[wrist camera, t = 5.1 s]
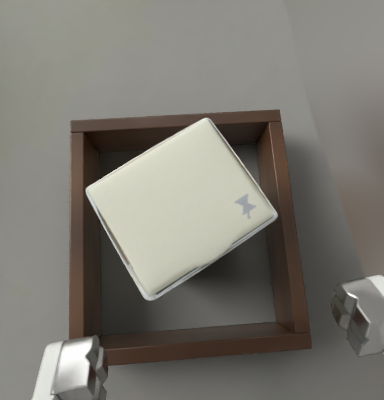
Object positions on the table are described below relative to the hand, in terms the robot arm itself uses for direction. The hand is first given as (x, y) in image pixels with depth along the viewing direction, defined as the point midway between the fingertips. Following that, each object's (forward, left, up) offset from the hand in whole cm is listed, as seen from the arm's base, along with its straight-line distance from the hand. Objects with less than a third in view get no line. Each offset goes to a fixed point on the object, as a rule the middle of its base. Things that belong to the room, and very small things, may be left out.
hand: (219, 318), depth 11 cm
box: (+4, +1, -10) cm, 11 cm away
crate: (+4, +1, -10) cm, 10 cm away
